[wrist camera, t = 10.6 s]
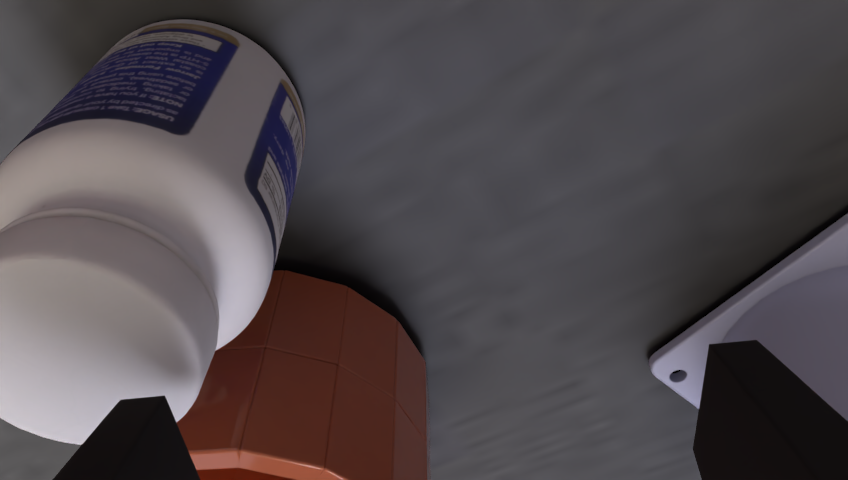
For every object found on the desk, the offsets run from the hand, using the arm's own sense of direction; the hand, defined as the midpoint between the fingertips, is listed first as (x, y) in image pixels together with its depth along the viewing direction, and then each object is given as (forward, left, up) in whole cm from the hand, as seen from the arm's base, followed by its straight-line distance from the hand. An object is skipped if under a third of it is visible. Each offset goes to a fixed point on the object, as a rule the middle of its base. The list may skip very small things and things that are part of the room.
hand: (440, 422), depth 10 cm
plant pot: (-3, +10, -10) cm, 15 cm away
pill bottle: (+4, +4, -11) cm, 12 cm away
